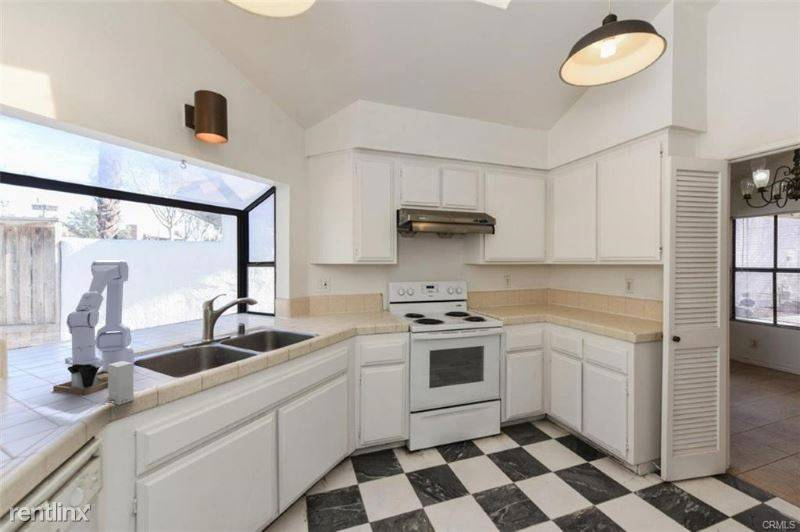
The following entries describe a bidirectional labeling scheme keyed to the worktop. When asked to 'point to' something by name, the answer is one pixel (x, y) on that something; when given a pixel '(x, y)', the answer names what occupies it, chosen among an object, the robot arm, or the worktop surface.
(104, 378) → the offcut short
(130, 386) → the skincare box
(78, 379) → the pale grey rectangular prism
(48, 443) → the worktop surface
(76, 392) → the frame
